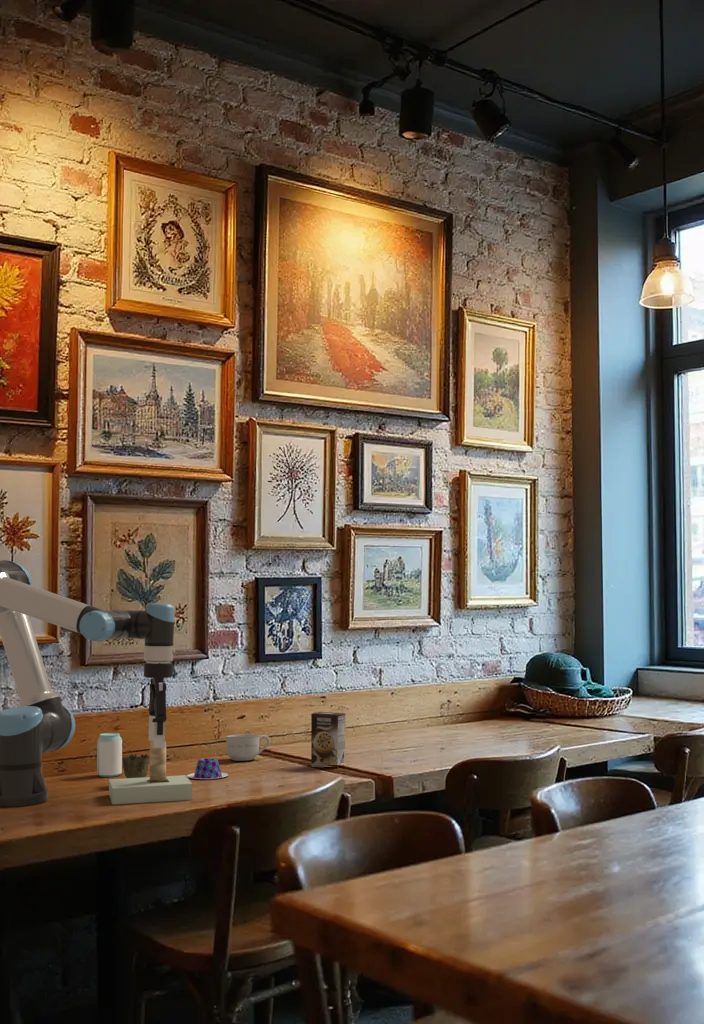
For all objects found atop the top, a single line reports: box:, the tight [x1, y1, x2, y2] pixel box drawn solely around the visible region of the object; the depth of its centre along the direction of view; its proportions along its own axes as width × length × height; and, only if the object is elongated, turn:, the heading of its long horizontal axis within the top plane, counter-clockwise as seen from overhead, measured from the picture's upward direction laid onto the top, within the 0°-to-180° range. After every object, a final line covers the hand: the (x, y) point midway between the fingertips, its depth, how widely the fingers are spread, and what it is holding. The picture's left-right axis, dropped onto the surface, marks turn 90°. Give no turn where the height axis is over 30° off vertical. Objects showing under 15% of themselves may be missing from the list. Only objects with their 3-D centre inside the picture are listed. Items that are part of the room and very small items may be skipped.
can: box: [96, 732, 123, 778], centre depth 311 cm, size 7×7×12 cm
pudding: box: [186, 757, 229, 780], centre depth 307 cm, size 12×12×5 cm
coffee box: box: [310, 711, 346, 768], centre depth 325 cm, size 9×6×16 cm
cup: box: [122, 753, 150, 778], centre depth 295 cm, size 8×7×8 cm
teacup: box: [225, 733, 271, 762], centre depth 339 cm, size 14×11×8 cm
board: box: [108, 774, 193, 805], centre depth 276 cm, size 20×14×4 cm
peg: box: [149, 741, 167, 783], centre depth 277 cm, size 4×4×14 cm
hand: (156, 744), depth 278 cm, fingers open, 13 cm apart
